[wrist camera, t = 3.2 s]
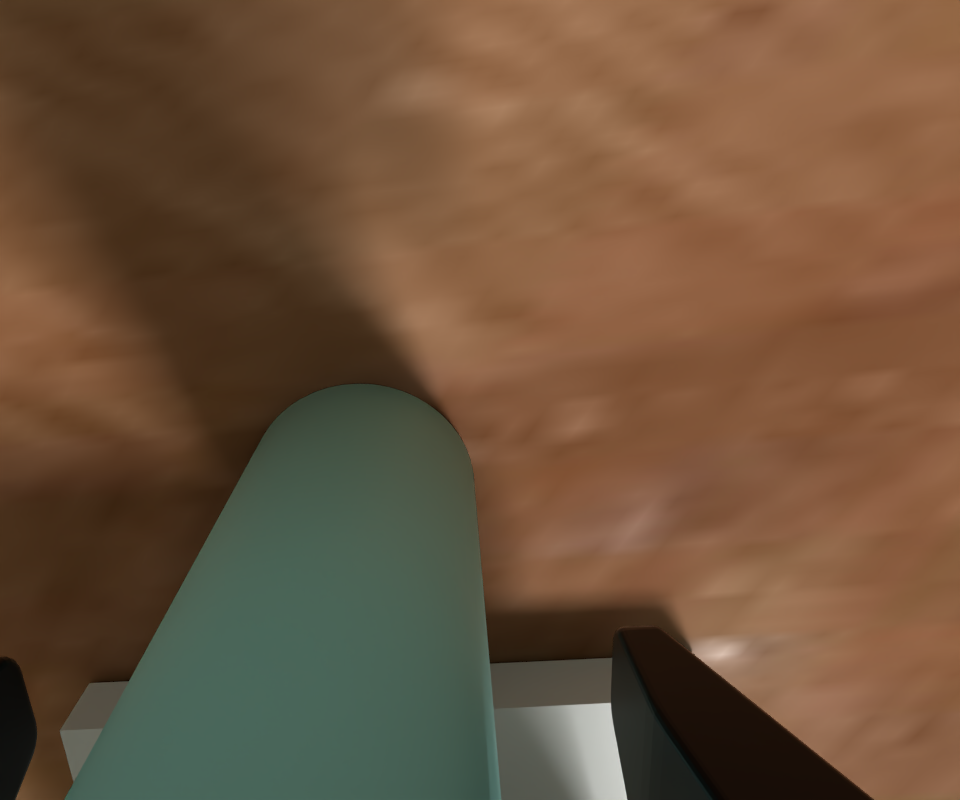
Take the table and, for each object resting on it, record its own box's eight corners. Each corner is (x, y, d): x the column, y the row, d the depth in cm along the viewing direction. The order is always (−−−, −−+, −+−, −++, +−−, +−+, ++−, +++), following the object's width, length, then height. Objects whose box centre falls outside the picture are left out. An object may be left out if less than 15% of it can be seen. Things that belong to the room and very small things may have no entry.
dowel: (377, 338, 10) (106, 1300, 2) (518, 503, 11) (731, 1617, 3) (204, 472, 11) (-573, 1656, 3) (352, 618, 12) (137, 1827, 4)
